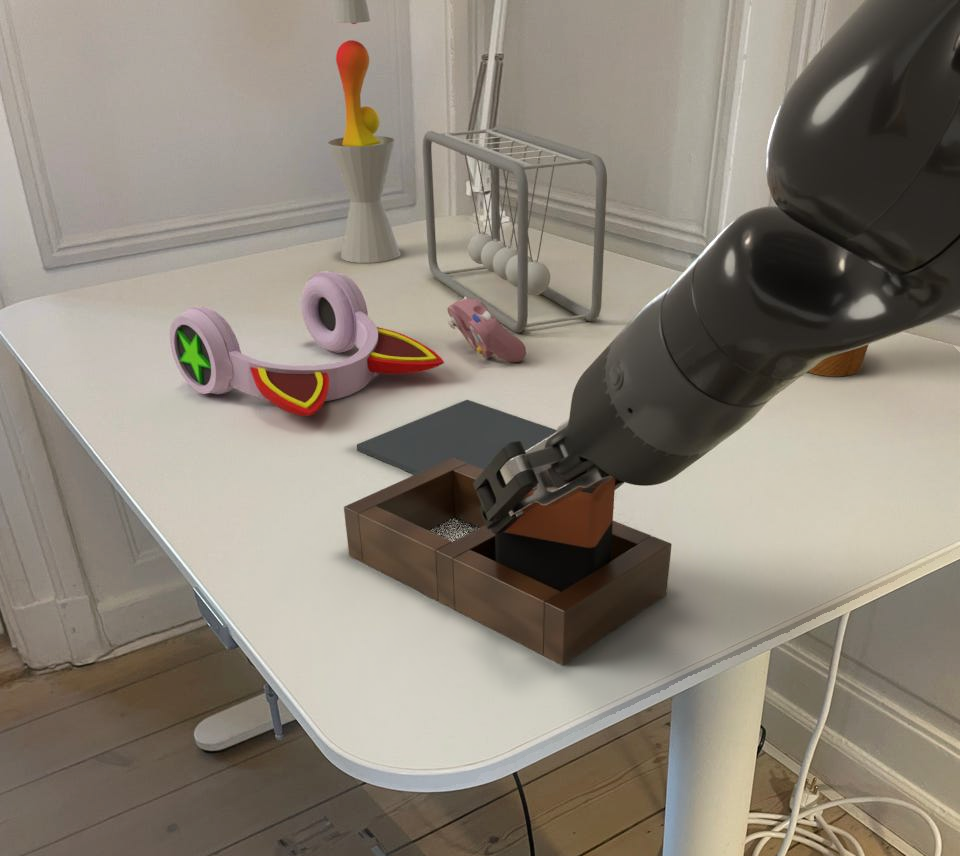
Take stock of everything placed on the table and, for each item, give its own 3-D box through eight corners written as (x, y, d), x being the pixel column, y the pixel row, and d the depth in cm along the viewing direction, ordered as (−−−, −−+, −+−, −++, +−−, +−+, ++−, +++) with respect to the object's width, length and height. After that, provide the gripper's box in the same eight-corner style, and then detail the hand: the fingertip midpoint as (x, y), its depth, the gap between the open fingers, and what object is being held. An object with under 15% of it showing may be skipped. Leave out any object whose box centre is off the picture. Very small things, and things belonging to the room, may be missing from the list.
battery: (590, 625, 65) (597, 485, 59) (494, 604, 67) (491, 468, 61) (610, 591, 68) (618, 456, 62) (518, 573, 70) (517, 441, 65)
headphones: (313, 266, 110) (441, 272, 97) (330, 356, 114) (454, 373, 102) (157, 308, 98) (280, 322, 85) (184, 406, 103) (303, 432, 90)
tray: (667, 594, 68) (672, 543, 65) (562, 666, 61) (564, 611, 59) (454, 503, 79) (452, 457, 77) (348, 555, 73) (343, 506, 71)
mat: (615, 456, 86) (616, 450, 86) (506, 513, 78) (506, 506, 78) (467, 405, 96) (467, 399, 96) (356, 450, 88) (356, 444, 88)
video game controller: (462, 354, 113) (433, 302, 108) (494, 330, 113) (467, 277, 109) (497, 382, 106) (468, 327, 101) (532, 357, 106) (505, 301, 101)
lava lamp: (375, 266, 139) (351, -36, 119) (326, 258, 144) (294, -35, 124) (414, 251, 146) (397, -38, 126) (365, 244, 150) (341, -37, 130)
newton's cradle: (427, 274, 135) (420, 128, 125) (498, 265, 138) (496, 122, 128) (520, 338, 112) (520, 166, 102) (602, 325, 116) (609, 157, 105)
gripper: (588, 486, 47) (468, 588, 62) (808, 419, 53) (650, 526, 68) (526, 344, 47) (423, 478, 62) (750, 293, 53) (607, 427, 68)
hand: (541, 503), depth 65 cm, fingers closed on battery, 7 cm apart
